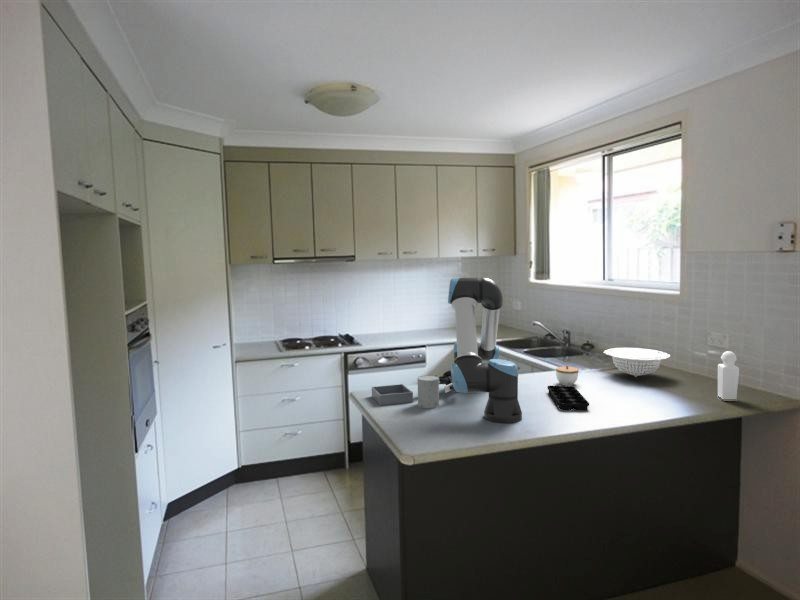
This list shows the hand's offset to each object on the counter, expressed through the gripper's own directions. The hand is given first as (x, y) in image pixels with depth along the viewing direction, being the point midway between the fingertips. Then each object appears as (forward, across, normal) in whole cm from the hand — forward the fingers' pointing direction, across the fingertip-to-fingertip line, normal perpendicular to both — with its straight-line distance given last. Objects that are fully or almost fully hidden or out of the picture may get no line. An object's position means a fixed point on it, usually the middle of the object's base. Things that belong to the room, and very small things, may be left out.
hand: (431, 387), depth 237 cm
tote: (+4, +19, -7) cm, 20 cm away
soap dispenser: (-67, -112, -7) cm, 131 cm away
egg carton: (-31, -52, -8) cm, 61 cm away
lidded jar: (-61, -44, -7) cm, 75 cm away
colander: (-92, -72, -7) cm, 117 cm away
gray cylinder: (+4, 0, -7) cm, 8 cm away
